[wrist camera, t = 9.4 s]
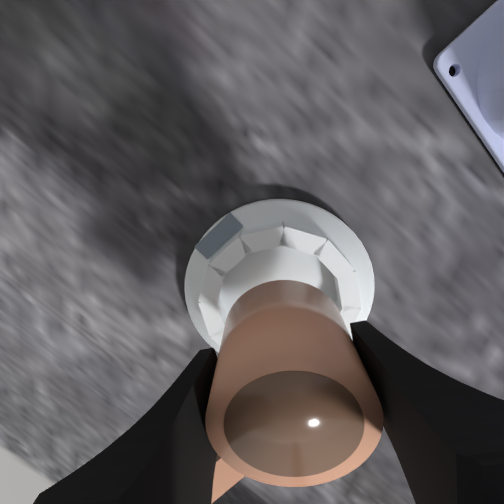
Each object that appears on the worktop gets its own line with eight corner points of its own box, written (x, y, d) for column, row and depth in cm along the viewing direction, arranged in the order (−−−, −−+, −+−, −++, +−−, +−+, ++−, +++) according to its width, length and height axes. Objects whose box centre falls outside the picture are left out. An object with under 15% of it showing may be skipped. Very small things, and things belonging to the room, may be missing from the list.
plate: (407, 294, 18) (423, 311, 16) (271, 390, 21) (272, 414, 19) (285, 154, 16) (288, 155, 14) (151, 284, 18) (138, 299, 17)
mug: (276, 255, 13) (283, 320, 8) (368, 327, 14) (423, 422, 9) (165, 379, 15) (121, 484, 11) (250, 432, 16) (245, 550, 12)
